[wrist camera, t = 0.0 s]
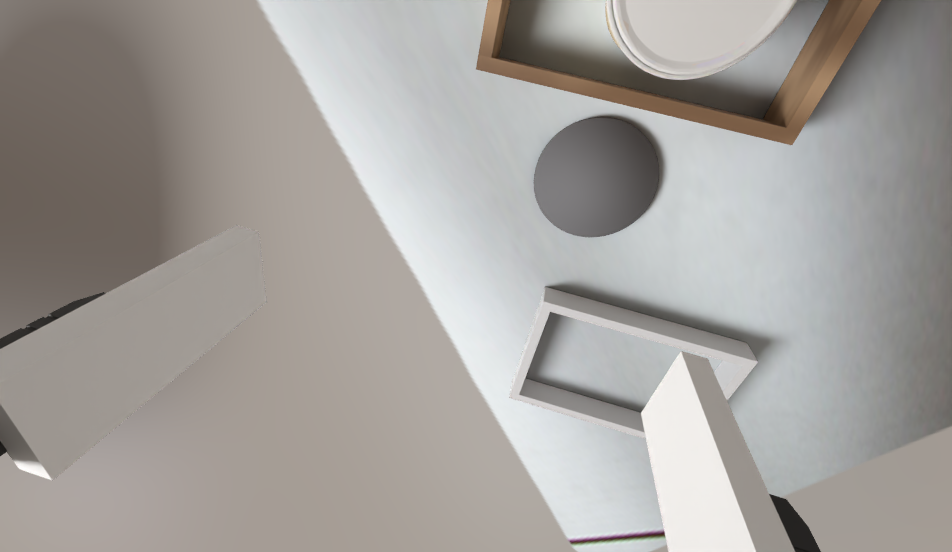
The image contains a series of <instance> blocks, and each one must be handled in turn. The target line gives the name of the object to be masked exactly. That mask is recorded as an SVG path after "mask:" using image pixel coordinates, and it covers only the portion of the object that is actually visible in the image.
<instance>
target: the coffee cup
mask: <svg viewBox="0 0 952 552" xmlns="http://www.w3.org/2000/svg"><path fill="white" fill-rule="evenodd" d="M796 2H797V0H606V21H607V25H608V29H609V32H610V34H611V36H612V38H613V40H614V41H615V43H616V44H617V46H618V47H619V48H620V49H621V50H622V51H623V53H624V54H625V55H626V56H627V57H628V58H629V59H630V60H631V62H633V63H634V64H635V65H636V66H638V67H639V68H641V69H642V70H644V71H646V72H648V73H650V74H652V75H655V76H658V77H661V78H666V79H674V80H687V79H695V78H701V77H705V76H708V75H712V74H714V73H717V72H720V71H722V70H724V69H726V68H728V67H731V66H733V65H734V64H736V63H738V62H739V61H741V60H743V59H744V58H745V57H747V56H748V55H750V54H751V53H752V52H754V51H755V50H756V49H757V48H758V47H760V46H761V45H762V44H763V43H764V42H765V41H766V40H767V39H768V38H769V37H770V36H771V35H772V34H773V33H774V32H775V31H776V30H777V28H778V27H779V26H780V25H781V24H782V22H783V21H784V20H785V18H786V17H787V16H788V14H789V13H790V11H791V10H792V8H793V6H794V5H795V3H796Z"/></svg>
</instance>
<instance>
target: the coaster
mask: <svg viewBox="0 0 952 552" xmlns="http://www.w3.org/2000/svg"><path fill="white" fill-rule="evenodd" d="M658 180H659V165H658V160H657V156H656V153H655V151H654V149H653V147H652V145H651V143H650V142H649V141H648V139H647V138H646V137H645V136H644V135H643V134H642V133H641V132H640V131H639V130H638V129H636V128H635V127H634V126H632V125H630V124H628V123H626V122H624V121H621V120H618V119H613V118H605V117H597V118H589V119H585V120H581V121H579V122H576V123H573V124H572V125H570V126H568V127H566V128H564V129H563V130H562V131H560V132H559V133H558V134H557V135H555V136H554V137H553V138H552V139H551V141H550V142H549V143H548V144H547V145H546V147H545V148H544V150H543V151H542V153H541V155H540V157H539V160H538V163H537V165H536V170H535V174H534V191H535V196H536V200H537V203H538V205H539V207H540V209H541V211H542V212H543V214H544V215H545V216H546V218H547V219H548V220H549V221H550V222H551V223H552V224H554V225H555V226H556V227H558V228H559V229H561V230H563V231H565V232H567V233H570V234H573V235H577V236H582V237H600V236H606V235H609V234H613V233H615V232H618V231H620V230H622V229H624V228H626V227H627V226H629V225H630V224H632V223H633V222H634V221H636V220H637V219H638V218H639V217H640V216H641V215H642V214H643V213H644V212H645V210H646V209H647V208H648V206H649V205H650V203H651V201H652V199H653V197H654V195H655V192H656V189H657V185H658Z"/></svg>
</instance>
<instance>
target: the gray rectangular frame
mask: <svg viewBox="0 0 952 552" xmlns="http://www.w3.org/2000/svg"><path fill="white" fill-rule="evenodd" d="M550 312H553V313H556V314H560V315H564V316H567V317H571V318H574V319H578V320H581V321H585V322H588V323H592V324H595V325H599V326H602V327H606V328H609V329H613V330H617V331H620V332H624V333H627V334H631V335H634V336H638V337H641V338H645V339H648V340H652V341H655V342H659V343H662V344H666V345H670V346H673V347H677V348H680V349H684V350H687V351H691V352H694V353H698V354H701V355H705V356H708V357H712V358H716V359H719V360H722V361H721V363H720V364H719V366H718V367H717V368H716V370H715V371H714V374H715V376H716V378H717V380H718V382H719V385H720V387H721V389H722V391H723V394H724V396H725V398H726V400H728V399H729V398H730V397H731V395H732V394H733V393H734V392H735V390H736V389H737V388H738V387H739V385H740V384H741V383H742V382H743V380H744V379H745V378H746V377H747V375H748V374H749V373H750V372H751V370H752V369H753V368H754V367H755V365H756V364H757V363H758V361H757V359H756V357H755V356H754V354H753V353H752V351H751V349H750V348H749V346H748V344H747V343H745V342H742V341H738V340H735V339H731V338H728V337H724V336H720V335H717V334H713V333H710V332H706V331H702V330H699V329H695V328H692V327H688V326H684V325H681V324H677V323H674V322H670V321H666V320H663V319H659V318H656V317H652V316H649V315H645V314H641V313H638V312H634V311H631V310H627V309H623V308H620V307H616V306H613V305H609V304H605V303H602V302H598V301H595V300H591V299H587V298H584V297H580V296H577V295H573V294H570V293H566V292H562V291H559V290H555V289H552V288H548V287H545V288H544V291H543V294H542V297H541V299H540V302H539V305H538V308H537V311H536V314H535V317H534V319H533V322H532V325H531V328H530V331H529V334H528V337H527V339H526V342H525V345H524V348H523V351H522V354H521V356H520V359H519V362H518V365H517V368H516V371H515V374H514V376H513V379H512V384H511V390H510V396H509V398H512V399H515V400H518V401H522V402H525V403H528V404H532V405H535V406H538V407H542V408H545V409H548V410H551V411H555V412H558V413H561V414H565V415H568V416H571V417H575V418H578V419H581V420H585V421H588V422H591V423H595V424H598V425H601V426H605V427H608V428H611V429H614V430H618V431H621V432H624V433H628V434H631V435H634V436H638V437H641V438H644V439H646V436H645V431H644V426H643V421H642V416H641V413H640V412H637V411H633V410H630V409H627V408H623V407H620V406H617V405H613V404H610V403H606V402H603V401H600V400H596V399H593V398H590V397H586V396H583V395H579V394H576V393H573V392H569V391H566V390H563V389H559V388H556V387H553V386H549V385H546V384H542V383H539V382H536V381H532V380H529V379H526V378H525V377H526V375H527V372H528V369H529V367H530V364H531V361H532V359H533V356H534V353H535V351H536V348H537V345H538V343H539V340H540V337H541V335H542V332H543V329H544V327H545V324H546V321H547V319H548V316H549V313H550Z"/></svg>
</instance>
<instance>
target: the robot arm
mask: <svg viewBox="0 0 952 552" xmlns="http://www.w3.org/2000/svg"><path fill="white" fill-rule="evenodd" d="M266 302H267V299H266V290H265V281H264V273H263V263H262V255H261V245H260V236H259V231H255V230H252V229H248V228H245V227H241V226H238V225H236V226H234V227H232V228H230V229H228V230H226V231H224V232H223V233H221V234H219V235H217V236H215V237H213V238H211V239H209V240H207V241H205V242H203V243H201V244H199V245H198V246H196V247H194V248H192V249H190V250H188V251H186V252H184V253H182V254H181V255H179V256H177V257H175V258H173V259H171V260H169V261H167V262H165V263H163V264H161V265H159V266H158V267H156V268H154V269H152V270H150V271H148V272H146V273H144V274H142V275H140V276H139V277H137V278H135V279H133V280H131V281H129V282H127V283H125V284H123V285H121V286H119V287H118V288H116V289H114V290H112V291H110V292H108V293H104V292H103V293H100V294H96V295H93V296H90V297H87V298H83V299H80V300H77V301H74V302H72V303H70V304H68V305H66V306H64V307H62V308H60V309H58V310H56V311H54V312H52V313H50V314H48V317H46V318H44V317H42V318H40V319H38V320H36V321H34V322H32V323H30V324H28V325H27V327H26V328H25V329H21V328H20V329H18V330H16V331H14V332H13V333H10V334H9V335H7V336H5V337H3V338H1V339H0V456H1V455H3V454H4V453H6V452H7V453H8V454H9V456H10V457H11V458H12V460H13V461H14V462H15V464H16V465H17V466H18V468H19V469H21V470H24V471H27V472H29V473H32V474H35V475H38V476H41V477H44V478H47V479H50V480H54V479H55V478H56V477H57V476H59V475H60V474H61V473H62V472H63V471H65V470H66V469H67V468H68V467H69V466H71V465H72V464H73V463H74V462H75V461H77V460H78V459H79V458H80V457H81V456H82V455H84V454H85V453H86V452H87V451H89V450H90V449H91V448H92V447H93V446H95V445H96V444H97V443H98V442H99V441H100V440H102V439H103V438H104V437H105V436H107V435H108V434H109V433H110V432H111V431H113V430H114V429H115V428H116V427H117V426H119V425H120V424H121V423H122V422H123V421H124V420H126V419H127V418H128V417H129V416H131V415H132V414H133V413H134V412H135V411H137V410H138V409H139V408H140V407H141V406H143V405H144V404H145V403H146V402H147V401H149V400H150V399H151V398H152V397H153V396H155V395H156V394H157V393H158V392H159V391H160V390H162V389H163V388H164V387H165V386H167V385H168V384H169V383H170V382H171V381H173V380H174V379H175V378H176V377H177V376H178V375H180V374H181V373H182V372H183V371H184V370H186V369H187V368H188V367H189V366H191V365H192V364H193V363H194V362H195V361H197V360H198V359H199V358H200V357H201V356H202V355H204V354H205V353H206V352H207V351H209V350H210V349H211V348H212V347H213V346H215V345H216V344H217V343H218V342H219V341H221V340H222V339H223V338H224V337H225V336H227V335H228V334H229V333H230V332H231V331H233V330H234V329H235V328H236V327H237V326H239V325H240V324H241V323H242V322H243V321H245V320H246V319H247V318H248V317H249V316H251V315H252V314H253V313H254V312H255V311H257V310H258V309H259V308H260V307H261V306H263V305H264V304H265V303H266ZM641 416H642V421H643V426H644V431H645V436H646V441H647V446H648V451H649V456H650V461H651V466H652V471H653V476H654V481H655V486H656V491H657V496H658V501H659V506H660V511H661V516H662V521H663V526H664V531H665V536H666V541H667V546H668V551H669V552H821V551H820V549H819V547H818V545H817V543H816V541H815V539H814V537H813V535H812V533H811V531H810V529H809V527H808V526H807V525H806V523H805V522H804V521H803V520H802V518H801V517H800V516H799V515H798V513H797V512H796V511H795V510H794V508H793V507H792V506H791V505H790V504H789V502H788V501H787V500H786V499H784V498H780V497H777V496H774V495H770V494H769V493H768V491H767V488H766V486H765V484H764V482H763V480H762V477H761V475H760V473H759V471H758V469H757V466H756V464H755V462H754V460H753V458H752V455H751V453H750V451H749V449H748V446H747V444H746V442H745V440H744V438H743V435H742V433H741V431H740V429H739V427H738V424H737V422H736V420H735V418H734V416H733V413H732V411H731V409H730V407H729V405H728V402H727V400H726V398H725V396H724V394H723V391H722V389H721V387H720V385H719V382H718V380H717V378H716V376H715V374H714V371H713V369H712V367H711V365H710V363H709V360H708V359H707V358H703V357H700V356H696V355H693V354H689V353H686V352H682V351H681V352H680V353H679V355H678V356H677V358H676V359H675V361H674V363H673V364H672V366H671V367H670V369H669V370H668V372H667V373H666V375H665V377H664V378H663V380H662V381H661V383H660V384H659V386H658V387H657V389H656V391H655V392H654V394H653V395H652V397H651V398H650V400H649V401H648V403H647V405H646V406H645V408H644V409H643V411H642V412H641Z"/></svg>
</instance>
